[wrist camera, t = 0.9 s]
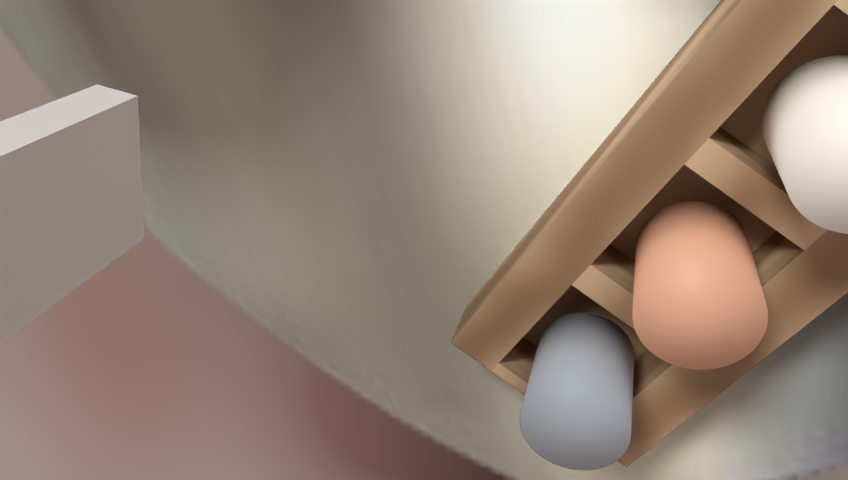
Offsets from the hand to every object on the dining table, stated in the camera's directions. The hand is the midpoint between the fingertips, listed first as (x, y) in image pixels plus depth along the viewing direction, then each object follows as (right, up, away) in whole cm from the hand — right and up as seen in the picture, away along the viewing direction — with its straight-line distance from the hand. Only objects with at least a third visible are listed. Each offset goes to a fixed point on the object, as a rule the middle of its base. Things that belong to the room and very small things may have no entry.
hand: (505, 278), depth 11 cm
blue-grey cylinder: (+7, -5, +26) cm, 27 cm away
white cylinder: (+15, +6, +17) cm, 24 cm away
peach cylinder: (+11, 0, +21) cm, 24 cm away
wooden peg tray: (+12, +1, +24) cm, 27 cm away
